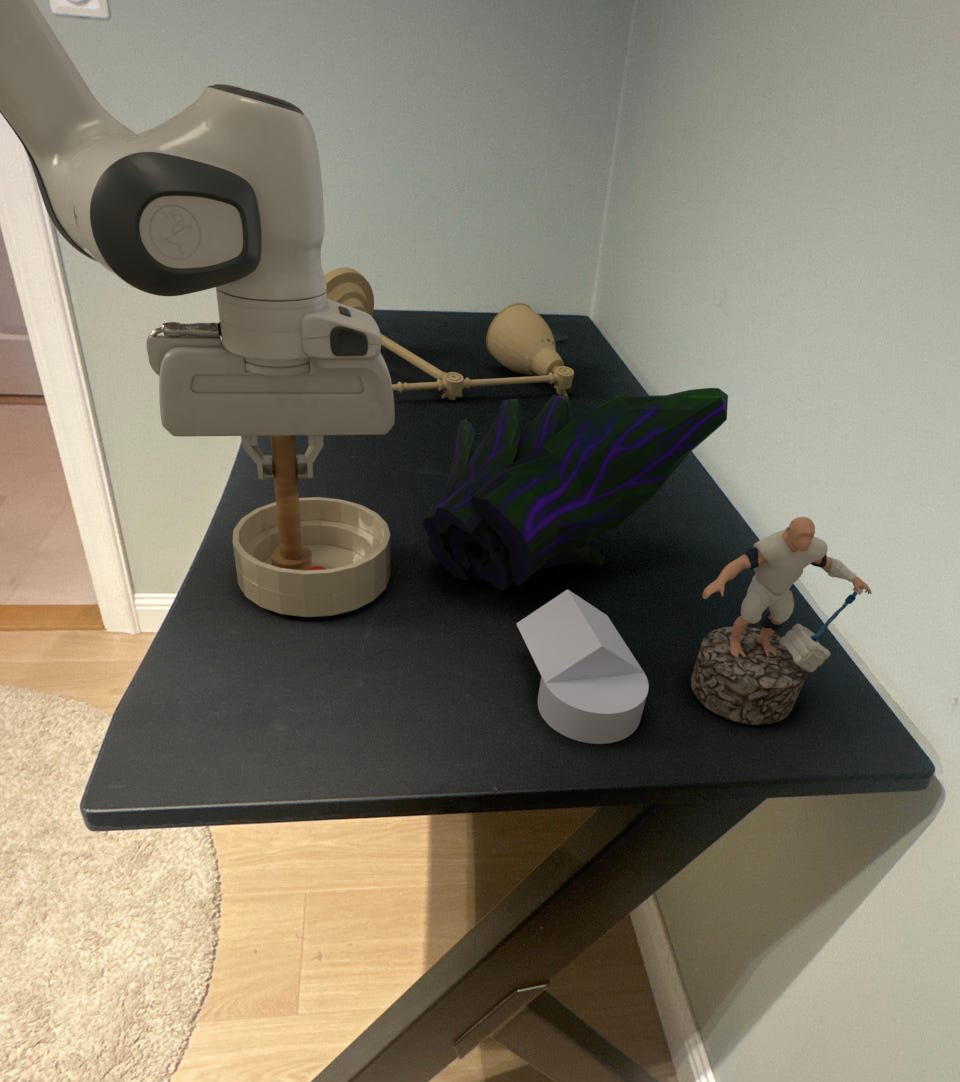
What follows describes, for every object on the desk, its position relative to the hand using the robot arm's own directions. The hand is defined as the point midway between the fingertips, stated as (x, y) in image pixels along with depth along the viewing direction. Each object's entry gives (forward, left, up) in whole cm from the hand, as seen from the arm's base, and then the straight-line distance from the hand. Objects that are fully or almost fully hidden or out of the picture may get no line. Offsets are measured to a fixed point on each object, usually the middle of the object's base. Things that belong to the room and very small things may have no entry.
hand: (286, 476), depth 73 cm
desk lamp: (+28, +63, -12) cm, 70 cm away
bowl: (+2, 0, -11) cm, 12 cm away
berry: (+2, -5, -9) cm, 10 cm away
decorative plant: (+27, +3, -12) cm, 30 cm away
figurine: (+39, -24, -12) cm, 47 cm away
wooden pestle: (0, 0, -10) cm, 10 cm away
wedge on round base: (+24, -21, -12) cm, 34 cm away
